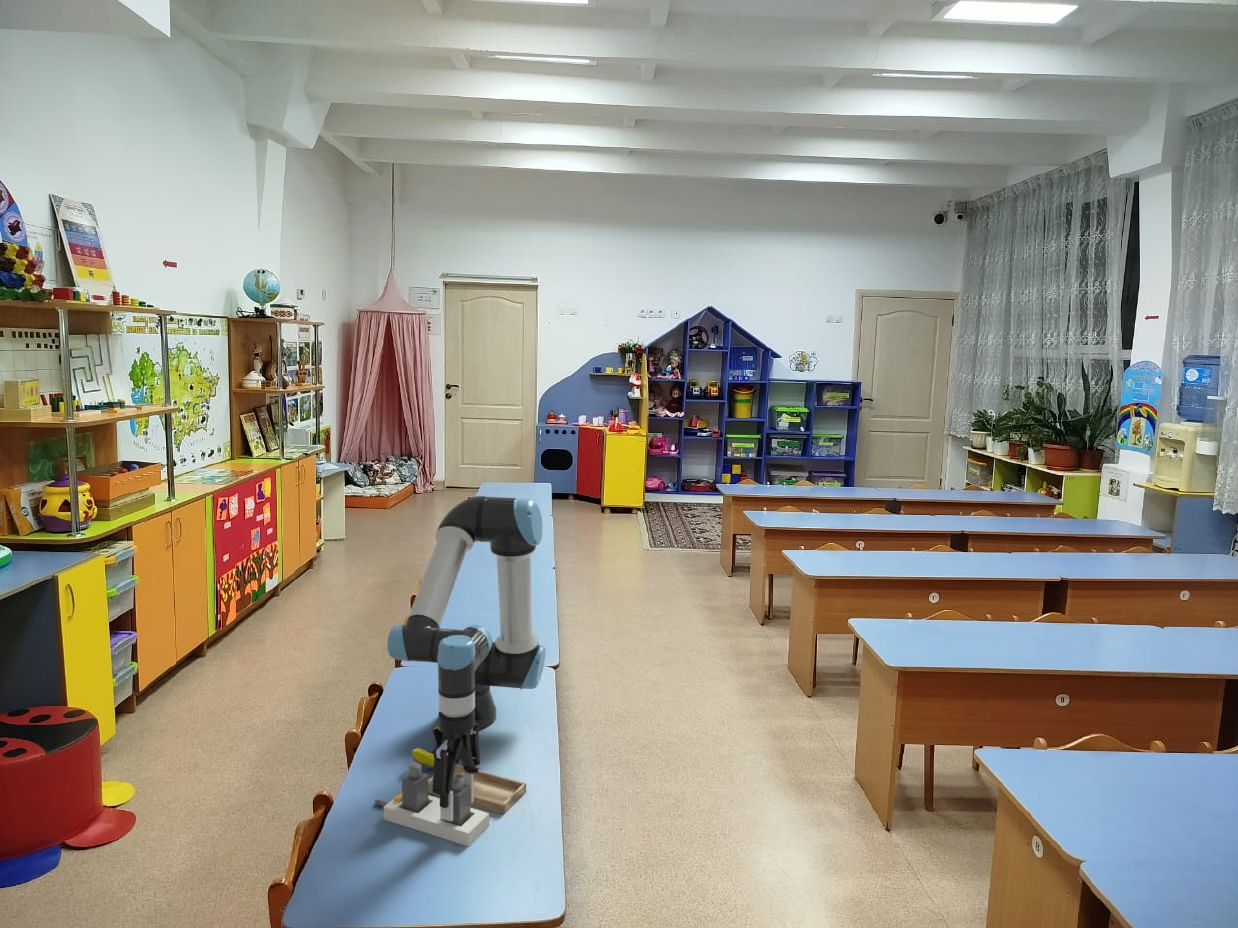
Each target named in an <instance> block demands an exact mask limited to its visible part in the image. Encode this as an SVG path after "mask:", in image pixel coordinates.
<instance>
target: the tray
mask: <svg viewBox="0 0 1238 928" xmlns="http://www.w3.org/2000/svg"><path fill="white" fill-rule="evenodd" d="M462 771H465V770H464V769H463V765H462V764H458V763H456V764H455V769H454V775H461V772H462ZM454 775H453V776H454ZM432 789H433V776H432V777H431V778H428V794H432V795H437V796H439V797H440V795H438V794H435V793H433V792H432ZM526 793H527V783H526V782H522V781H520V780H516V779H511V778H507V777H504V776H500V775H497V774H493V773H489V772H485V771H482V770H479V771H478V773H474V801H473V802H472V803H470V806H474V807H477V808H481V809H483V810H487V811H491V812H493V813H496V814H500V815H505V814H506V813H507V812H508V811H509V810H510V809H511V808H512V807H513V806H514V805H515V804H516V803H517V802H518V801H519V800H520V799H521V798H522V797H523V796H524V795H525V794H526Z"/></svg>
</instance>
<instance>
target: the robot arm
mask: <svg viewBox="0 0 1238 928" xmlns="http://www.w3.org/2000/svg"><path fill="white" fill-rule="evenodd" d="M542 537H543V519H542V513H541V509H540V506H539V505H538V503H537V502H536V501H535V500H533V499H528V498H527V499H526V498H522V497H501V496H499V497H497V496H485V495H484V496H482V495H478V496H476V495H475V496H471V497H468V498H467V499H465V500H463V501H461V502H459V503H458V504H457V505H455V506H454V507H453V508H451V510H450V511H448V513H447V514H446V515H445V516H444V517H443V519H442V520H441V522H440V524H438V527H437V530H436V532H435V542H436V544H435V547H434V549H433V552H432V555H431V557H430V559H429V562H428V564H427V567H426V569H425V573H424V575H423V577H422V581H421V582H420V585H419V588H418V591H417V594H416V596H415V598H414V601H413V604H412V606H411V609H410V612H409V614H408V617H407V619H406V622H405V624H400V625H398V624H397V625H394V626H393V627H392V628H391V629H390V631H389V633H388V636H387V642H386V649H387V653H388V655H389V657H391V658H392V659H393V660H400V661H405V662H419V663H420V662H422V663H423V662H425V663H436V664H437V678H438V679H437V680H438V681H437V683H438V689H437V691H438V727H439V729H440V730H441V732H442V733H443V739H442V745H441V746H440V747H439V748H436V746H435V747H434V748H433V750H432V751H433V754H434V769H433V771H432V774H433V775H432V777H433V789H432V792H433V793H435V794H434V795H436V794H438V795H437V796H439V795H440V796H439V799H440V818H441V819H444V820H447V821H452V820H453V791H450V790H451V785H452V780H453V775H454V769H455V764H457V763H456V761H457V760H458V759H459V755H460V762H461V766H463V769H464V770H465V771H462V772H461V775H462V776H463V784H464V785H467V786H470V803H472V802H473V801H474V773H478V771H480V769H479V768H478V767H479V766H480V765H481V755H480V754H481V753H480V741H479V739H480V738H479V731H480V729H483V728H484V729H485V728H487V727H489V726H490V725H491V724H493V723H494V722H495V721H496V719H497V707H496V705H495V701H494V699H493V695H492V692H491V687H498V688H499V687H500V688H508V689H509V688H510V689H511V688H512V689H520V690H532V689H536V688H537V687H538V685H539V684H540V682H541V678H542V674H543V670H544V666H545V660H546V650H547V649H546V647H545V646H543V645H542V644H539V643H540V642H539V637H538V635H536V634H535V633H534V632H533V609H532V608H533V606H532V605H533V604H532V603H533V602H532V575H531V555H532V554H533V553H534V552H535V551H536V549H537V545H540V544H541V542H542ZM478 542H481V543H489V544H490V551H491V554H493V555H494V556H495V557H496V565H497V566H496V567H497V568H496V569H497V589H498V610H499V611H498V612H499V629H500V630H499V631H500V632H499V633H500V635H498V636H497V637H496V638H495V641H493V637H492V634H491V633H490V631H489V630H488V629H487V628H486V627H485V626H482V625H479V624H473V625H469V626H468V627H466V628H464V629H450V628H440V626H441V624H442V621H443V618H444V616H445V613H446V610H447V607H448V604H449V601H450V598H451V596H452V593H453V590H454V586H455V584H456V581H457V579H458V577H459V574H460V570H461V567H462V565H463V562H464V559H465V556H466V554H467V552H469V551H470V550H471V549H472V548H473V546H474V543H478ZM448 753H449V754H448ZM450 754H453V755H454V756H453V755H450ZM433 793H432V794H433Z"/></svg>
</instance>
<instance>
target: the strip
mask: <svg viewBox="0 0 1238 928" xmlns="http://www.w3.org/2000/svg"><path fill="white" fill-rule="evenodd" d="M428 799H429V805H427V806H426V807H425V808H424V809H423V810H422V811H420V812H419V813H415V812H412V811H409V810H405V809H402V791H401V792H400V793H398V794H397V795H395V796H394V797H393V798H392V799H391V800H390V801H385V800H382V799H381V798H377V799H375V800H374V804H375V805H377V806H380V807H383V820H385V821H387V822H391V823H395V824H398V825H401V826H402V827H403V826H404V827H406V828H410V829H413V830H416V831H420V832H422V833H425V834H429V835H431V836H434V837H439V838H442V839H444V840H447V841H449V842H454V843H457V844H460V845H463V846H466V847H470V846H471V845H472V844H473V843H474V842H475V840H477V839H478V838H479V837H480V835H482V834H483V833H484V832H485V830H487V829H488V828H489V827H490V813H489V812H486V811H484V810H483V811H482V810H480V809H476V808H473V807H470V819H469V820H467V821H466V822H465V823H464V824H463V825H462V826H461V827H460V826H457V825H454V824H450V823H447V822H444V819H441V818H440V797H436V796H432V795H429V794H428Z"/></svg>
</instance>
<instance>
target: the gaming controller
mask: <svg viewBox="0 0 1238 928" xmlns="http://www.w3.org/2000/svg"><path fill="white" fill-rule="evenodd" d="M432 735H433V738H434V741H435V745H436V746H435V747H436V748H439V747H440V746H441V745H442V739H443V733H442V732H441V730H440V729H439V726H437V727H434V728H433V730H432ZM448 754H449V753H448ZM450 755H453V754H450ZM453 756H454V755H453ZM411 757H412V759H413V761H414V763H419V764H421V767H424V768H428V769H431V770H434V754H433V750H432V751H431V752H428V751H426V750H424V749H421V748H419V747H417V748H415V749H412V756H411ZM459 761H461V759H460V755H459V759H458V760H457V761H456V764H458V763H459Z"/></svg>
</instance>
